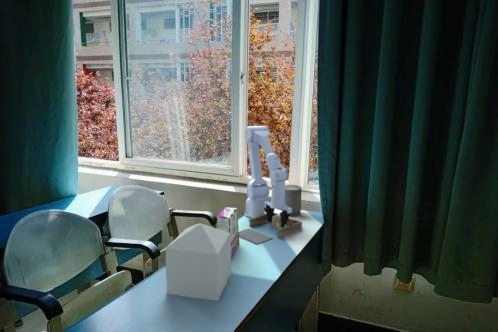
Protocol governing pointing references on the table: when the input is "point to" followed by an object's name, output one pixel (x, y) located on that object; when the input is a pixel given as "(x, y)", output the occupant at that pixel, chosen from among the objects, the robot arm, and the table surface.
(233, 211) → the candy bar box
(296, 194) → the pillar candle
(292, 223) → the open wooden frame
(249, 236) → the mat
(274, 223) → the birch block
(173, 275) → the decorative block
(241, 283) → the table surface
